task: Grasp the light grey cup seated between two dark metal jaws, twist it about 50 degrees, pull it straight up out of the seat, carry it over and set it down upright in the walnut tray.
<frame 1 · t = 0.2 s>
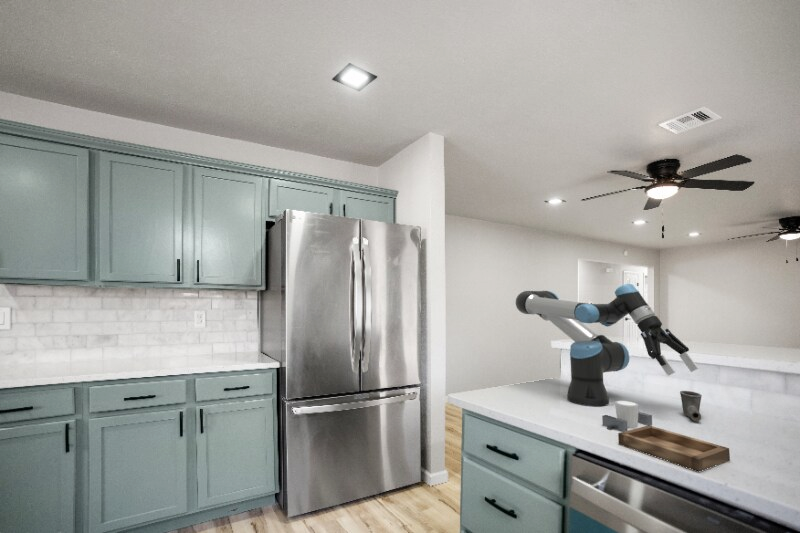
hand: (683, 372, 136), 15 cm above the worktop, tool tilted 35°, fingers open, 13 cm apart
pipe: (693, 418, 133), on the worktop
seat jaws: (627, 424, 126), on the worktop
tray: (671, 451, 104), on the worktop
light grey cup: (627, 425, 126), on the worktop
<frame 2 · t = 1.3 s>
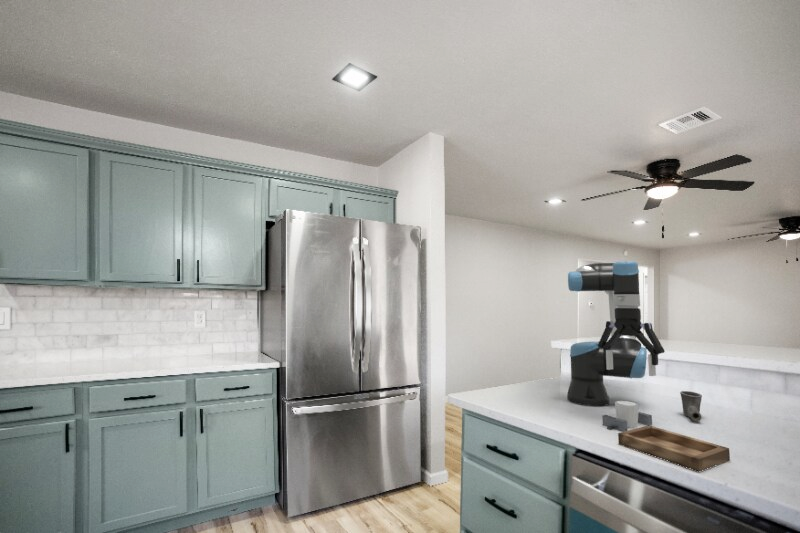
hand: (630, 372, 127), 17 cm above the worktop, tool pointing down, fingers open, 13 cm apart
nothing on the worktop moved.
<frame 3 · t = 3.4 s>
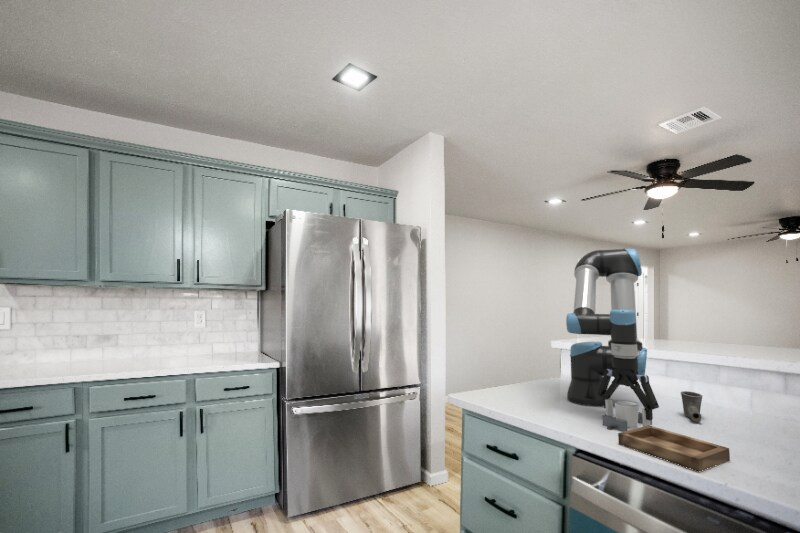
hand: (627, 424, 126), 0 cm above the worktop, tool pointing down, fingers open, 12 cm apart
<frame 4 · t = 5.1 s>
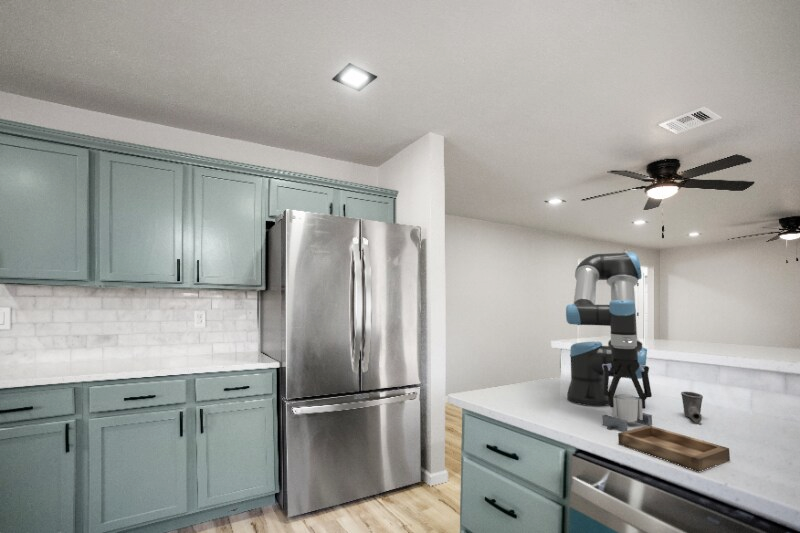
hand: (627, 417, 127), 2 cm above the worktop, tool pointing down, fingers closed on light grey cup, 7 cm apart
light grey cup: (627, 419, 127), point 2 cm above the worktop, touching gripper
everything else where it was.
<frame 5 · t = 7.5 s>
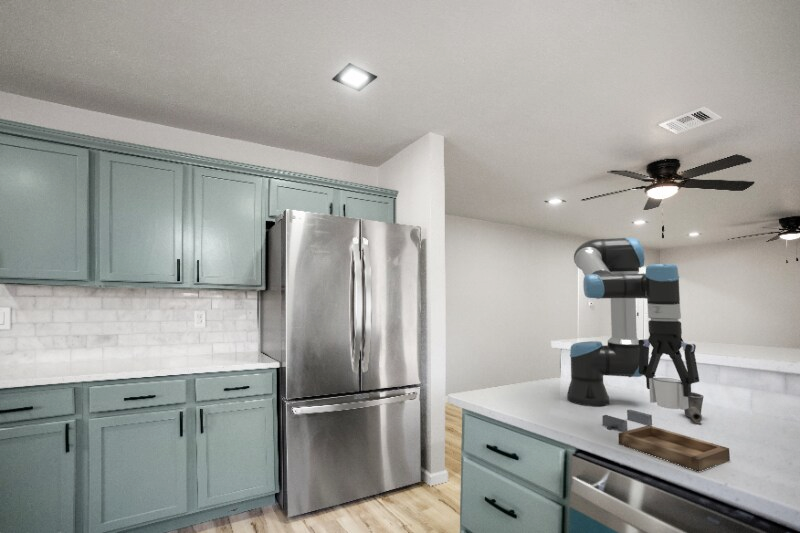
hand: (668, 405, 105), 12 cm above the worktop, tool pointing down, fingers closed on light grey cup, 7 cm apart
light grey cup: (669, 406, 105), point 12 cm above the worktop, touching gripper
when the fingers open (1 cm above the worktop, at t = 9.7 s): light grey cup stays where it is, resting on tray.
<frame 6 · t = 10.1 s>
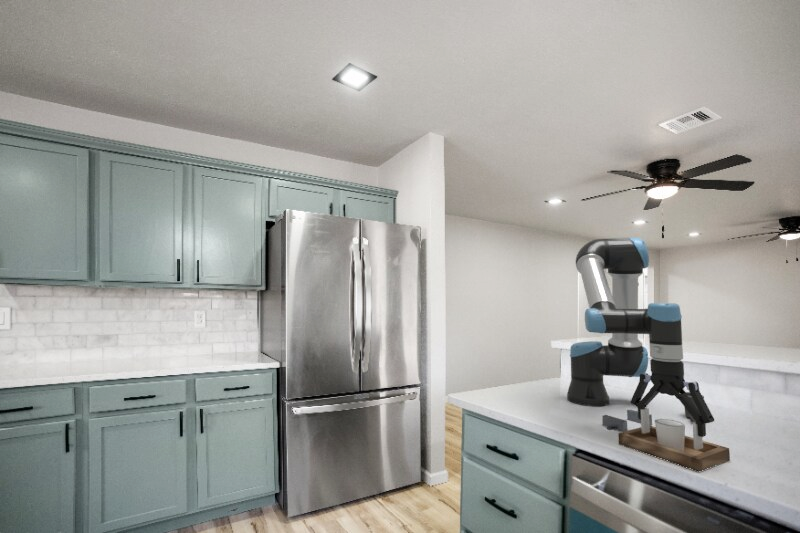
hand: (670, 440, 104), 3 cm above the worktop, tool pointing down, fingers open, 12 cm apart
light grey cup: (671, 449, 104), resting on tray
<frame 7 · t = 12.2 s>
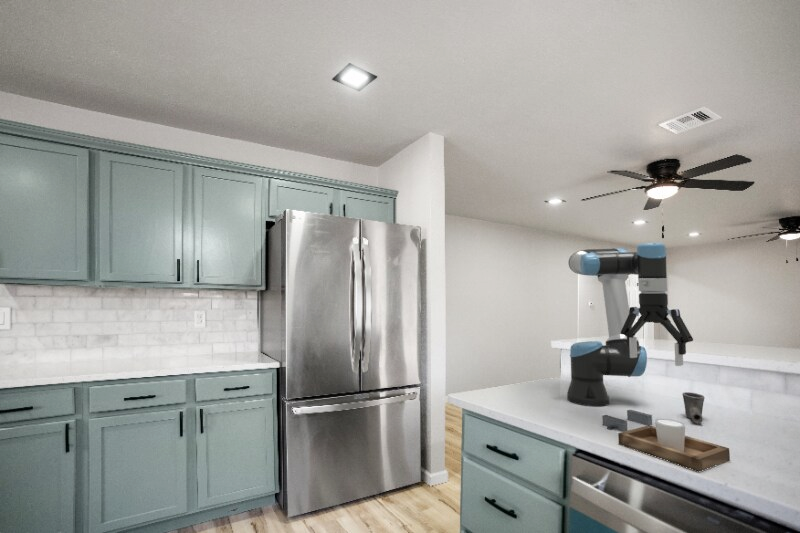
hand: (655, 361, 120), 22 cm above the worktop, tool pointing down, fingers open, 13 cm apart
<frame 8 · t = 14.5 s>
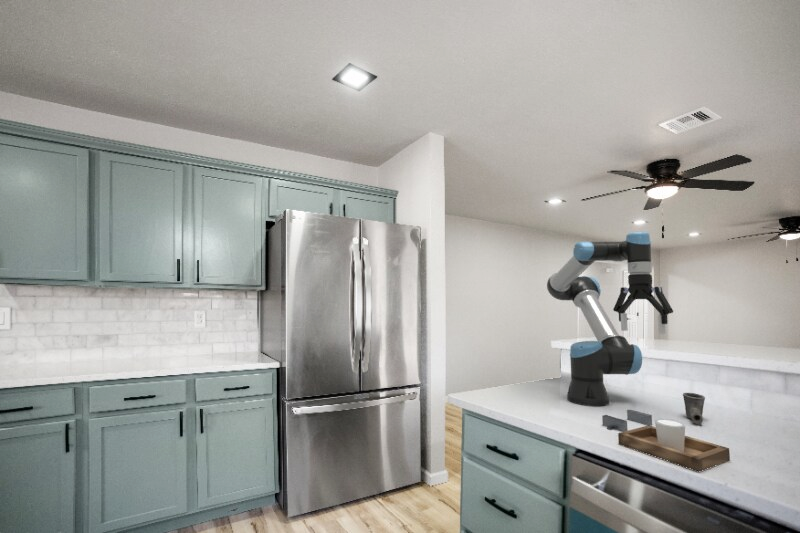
hand: (642, 332, 141), 29 cm above the worktop, tool pointing down, fingers open, 13 cm apart
at the end: light grey cup inside the target area on the tray (0.2 cm from its centre), point 0.4 cm above the tray's base; light grey cup tilted 0°; the gripper is holding nothing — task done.
